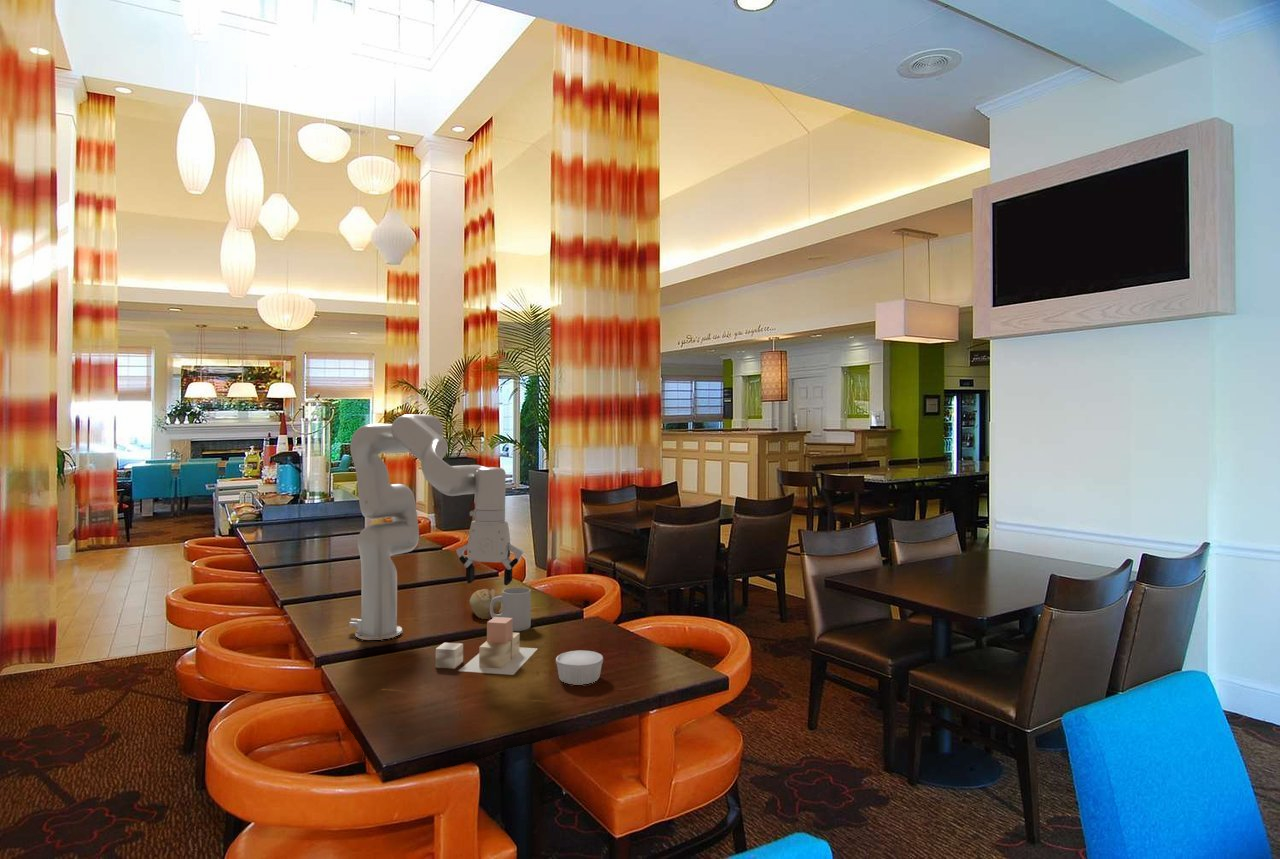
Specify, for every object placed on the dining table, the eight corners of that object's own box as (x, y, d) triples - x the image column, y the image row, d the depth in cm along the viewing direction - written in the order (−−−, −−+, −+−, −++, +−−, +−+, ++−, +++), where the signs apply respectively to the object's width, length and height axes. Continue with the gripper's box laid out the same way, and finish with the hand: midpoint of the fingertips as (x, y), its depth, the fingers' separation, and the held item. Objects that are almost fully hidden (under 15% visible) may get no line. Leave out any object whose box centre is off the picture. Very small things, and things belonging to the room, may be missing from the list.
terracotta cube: (486, 641, 178) (487, 622, 178) (494, 636, 183) (494, 616, 182) (505, 643, 177) (505, 623, 177) (512, 637, 182) (512, 618, 182)
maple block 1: (479, 667, 174) (479, 646, 174) (488, 659, 180) (488, 639, 180) (502, 668, 173) (502, 648, 173) (510, 660, 179) (510, 640, 179)
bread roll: (495, 607, 231) (495, 583, 231) (505, 619, 218) (505, 593, 217) (465, 610, 227) (465, 585, 227) (474, 622, 214) (474, 596, 214)
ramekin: (550, 674, 170) (550, 653, 170) (593, 668, 175) (593, 647, 175) (563, 691, 160) (563, 667, 160) (609, 684, 164) (609, 661, 164)
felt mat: (458, 672, 171) (458, 670, 171) (488, 646, 191) (488, 645, 191) (513, 675, 169) (513, 674, 169) (537, 649, 188) (537, 648, 188)
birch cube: (435, 668, 173) (435, 648, 173) (444, 662, 178) (444, 642, 178) (454, 670, 173) (454, 649, 172) (462, 663, 177) (463, 643, 177)
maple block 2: (489, 657, 181) (489, 638, 181) (497, 650, 187) (497, 631, 186) (511, 659, 180) (512, 639, 180) (519, 651, 186) (519, 632, 186)
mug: (529, 622, 214) (529, 586, 214) (531, 630, 206) (532, 593, 206) (489, 624, 211) (489, 588, 211) (490, 633, 203) (490, 595, 203)
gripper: (451, 516, 176) (450, 585, 176) (518, 519, 174) (517, 588, 174) (463, 512, 183) (462, 578, 183) (527, 515, 181) (526, 581, 181)
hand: (489, 583), depth 179 cm, fingers open, 9 cm apart
